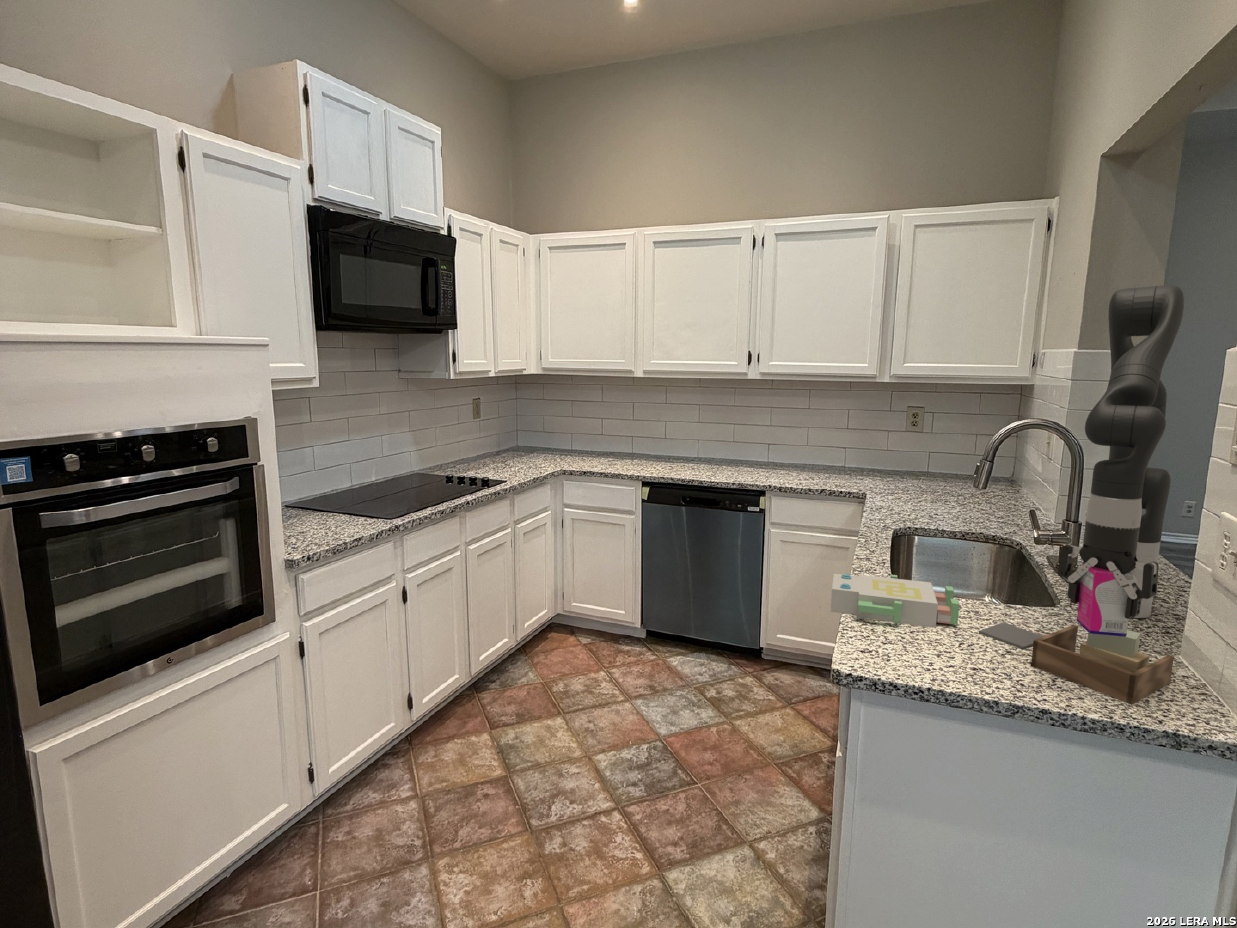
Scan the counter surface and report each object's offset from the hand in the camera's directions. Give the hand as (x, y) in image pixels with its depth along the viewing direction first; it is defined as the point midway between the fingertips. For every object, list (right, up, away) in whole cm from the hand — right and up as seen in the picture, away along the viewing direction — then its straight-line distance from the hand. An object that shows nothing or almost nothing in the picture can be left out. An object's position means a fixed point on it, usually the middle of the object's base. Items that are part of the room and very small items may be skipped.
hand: (1101, 609), depth 115 cm
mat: (-4, -10, +19) cm, 22 cm away
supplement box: (0, -4, +1) cm, 4 cm away
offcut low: (+6, -12, +5) cm, 15 cm away
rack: (+2, -12, +3) cm, 13 cm away
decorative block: (-24, -8, +33) cm, 41 cm away
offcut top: (+6, -8, +5) cm, 11 cm away
